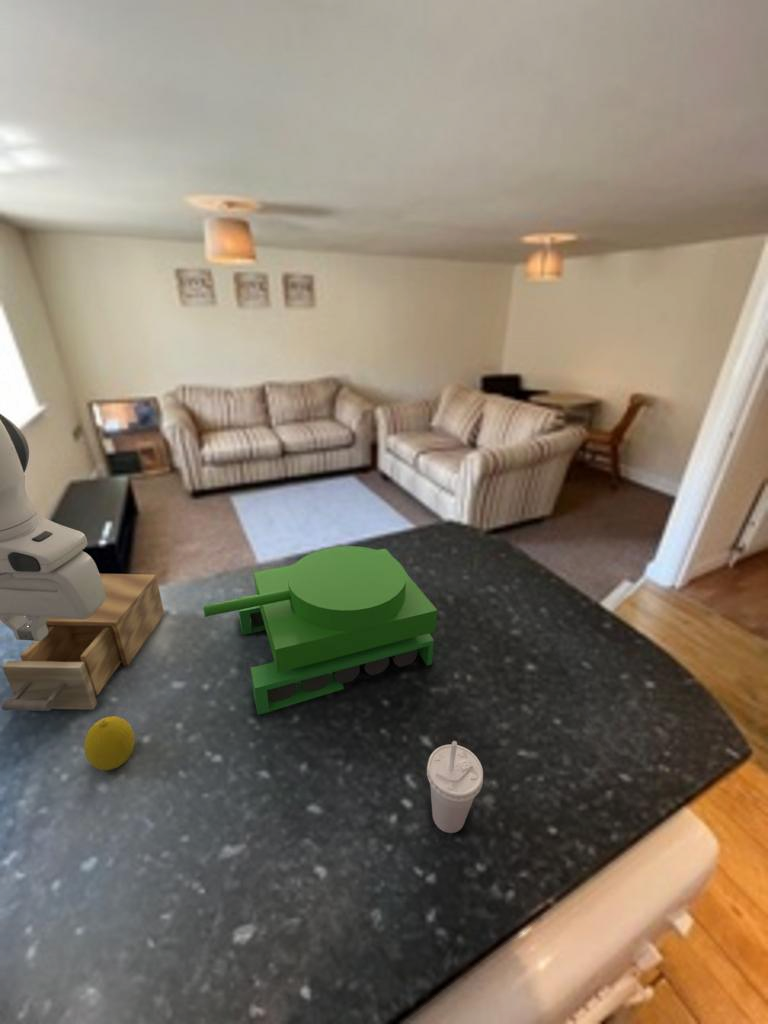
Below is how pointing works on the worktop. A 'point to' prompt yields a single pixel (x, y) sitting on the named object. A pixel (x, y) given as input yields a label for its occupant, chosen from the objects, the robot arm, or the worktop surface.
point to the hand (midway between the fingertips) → (33, 637)
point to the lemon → (109, 743)
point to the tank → (332, 622)
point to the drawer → (63, 669)
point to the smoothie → (453, 785)
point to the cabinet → (125, 611)
